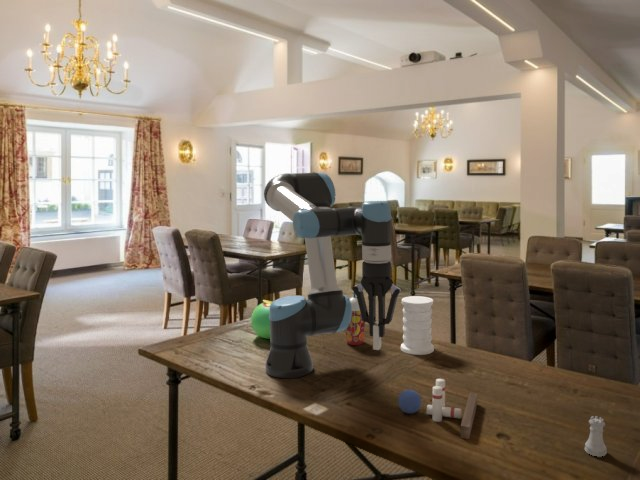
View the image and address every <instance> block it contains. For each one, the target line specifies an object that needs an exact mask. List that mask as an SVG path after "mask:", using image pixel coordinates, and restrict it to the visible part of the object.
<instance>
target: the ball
mask: <svg viewBox="0 0 640 480" xmlns="http://www.w3.org/2000/svg"><path fill="white" fill-rule="evenodd" d="M397 400H398V401H397V403H398V406H399V409H401V411H403V412H404V413H406V414H415V413H416V412H418V411H419V410H420V408H421V406H422V398H421V395H419V393H418V392H417V391H415V390H413V389H405V390H402V391H401V392H400V394H399V396H398V399H397Z"/></svg>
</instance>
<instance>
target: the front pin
mask: <svg viewBox="0 0 640 480" xmlns="http://www.w3.org/2000/svg"><path fill="white" fill-rule="evenodd" d="M426 414H427V415H431V416H432V404H427V406H426ZM442 417H446V418H452V419H461V420H462V408H458V407H450V406H449V407H448V406H445V407H443V406H442Z"/></svg>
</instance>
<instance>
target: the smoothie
mask: <svg viewBox="0 0 640 480" xmlns="http://www.w3.org/2000/svg"><path fill="white" fill-rule="evenodd" d="M349 299H350V302H351V306H352V316H351V321H350V324H349V326H348V327H347V329H345V330H344V332H345V340H346V343H347V344H348V345H351V346H360V345H362V344H363V343H364V341H365V337H366V332H365V331H366V322H363V320H362V316H361V312H360V308H359V304H358V300H357V296H356V294H355V292H354V291H353V296H351V297H349Z"/></svg>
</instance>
